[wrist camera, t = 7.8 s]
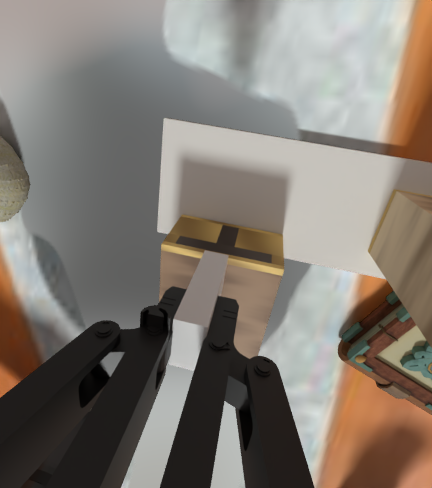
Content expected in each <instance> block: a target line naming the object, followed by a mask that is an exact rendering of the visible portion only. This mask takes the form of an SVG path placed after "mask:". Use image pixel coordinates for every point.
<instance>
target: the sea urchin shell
mask: <svg viewBox="0 0 432 488" xmlns="http://www.w3.org/2000/svg"><path fill="white" fill-rule="evenodd" d="M29 188H30V182H29V176H28V173H27V171H26V170H25V167H24V165H23V162H22V161H21V160H20V159H19V157H18V156H17V155H16V153H15V151H14V150H13V148H12V147H11V146H10V145H9V144H8V143H7V142H6V141H5V140H4V139H3V138H2V137H1V136H0V222H3V221H6V220H9V219H11V218H12V216H14V215H15V214H16V213H18V212H19V210H20V209H21V207H22V206H23V204H24V202H25V201H26V199H27V198H28V197H27V196H28V191H29Z"/></svg>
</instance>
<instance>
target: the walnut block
mask: <svg viewBox="0 0 432 488" xmlns="http://www.w3.org/2000/svg"><path fill="white" fill-rule="evenodd" d="M205 250H206V251H211V252H215V253H220V254H225V255H229V256H228V261H227V267H226V272H225V277H224V283H223V288H222V293H221V296H222V297H227V298H231V299H236V300H237V303H238V305H239V310H238V317H237V323H236V329H235V335H234V345H235V348H236V349H237V350H238V351H239V352H240V353H241V354H242V355H244V356H245V357H247V358H249V359H250V358H252V357H254V356H258V353H259V350H260V346H261V343H262V340H263V337H264V333H265V330H266V327H267V324H268V320H269V317H270V314H271V311H272V307H273V304H274V301H275V298H276V295H277V291H278V288H279V285H280V281H281V278H282V275H283V272H284V251H283V234H278V233H273V232H268V231H263V230H258V229H253V228H248V227H243V226H238V225H233V224H228V223H223V222H218V221H213V220H208V219H203V218H198V217H193V216H188V215H183V214H182V215H181V217H180V218H179V220H178V221H177V222H176V224H175V225H174V227H173V228H172V230H171V231H170V232H169V234H168V235H167V237H166V238H165V240H164V241H163V243H162V245H161V270H160V295H159V302H160V300H161V298H162V296H163V295H164V293H165V291H166V290H168V289H169V288H170V287H172V286H174V287H179V288H183V289H187V288H188V286H189V284H190V282H191V279H192V277H193V275H194V273H195V271H196V269H197V266H198V264H199V262H200V260H201V258H202V256H203V253H204V251H205Z"/></svg>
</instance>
